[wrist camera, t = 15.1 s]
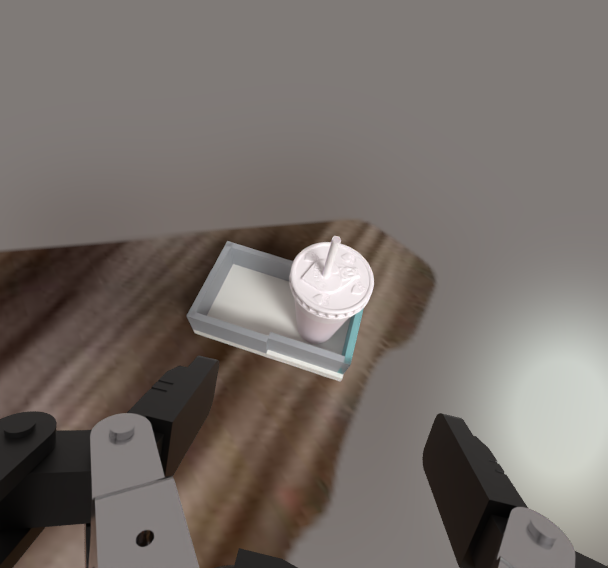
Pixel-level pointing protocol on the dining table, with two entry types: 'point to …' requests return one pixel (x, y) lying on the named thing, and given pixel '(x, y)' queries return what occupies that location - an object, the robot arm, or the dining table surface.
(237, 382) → the dining table surface
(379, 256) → the dining table surface
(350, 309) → the smoothie
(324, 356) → the grey tray
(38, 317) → the dining table surface
